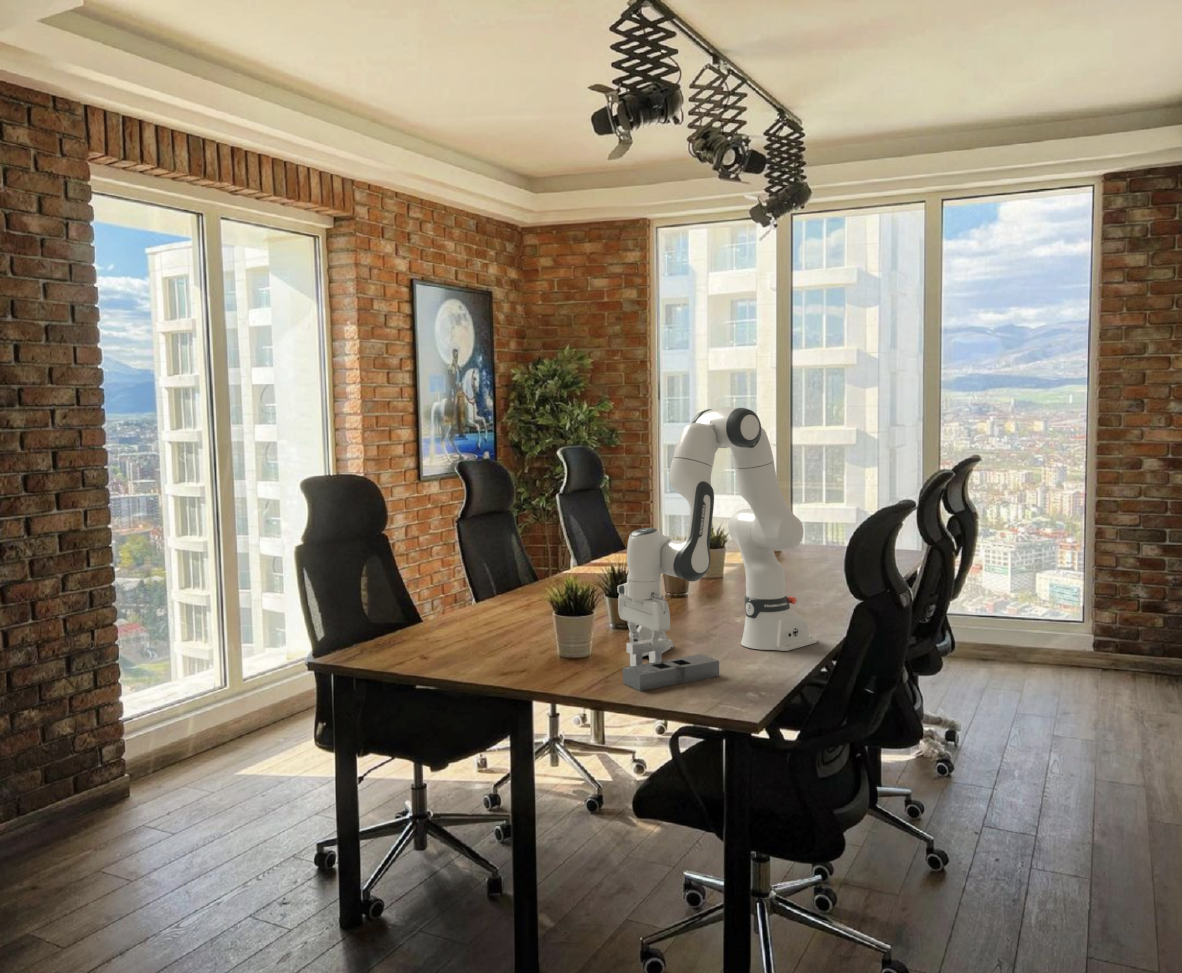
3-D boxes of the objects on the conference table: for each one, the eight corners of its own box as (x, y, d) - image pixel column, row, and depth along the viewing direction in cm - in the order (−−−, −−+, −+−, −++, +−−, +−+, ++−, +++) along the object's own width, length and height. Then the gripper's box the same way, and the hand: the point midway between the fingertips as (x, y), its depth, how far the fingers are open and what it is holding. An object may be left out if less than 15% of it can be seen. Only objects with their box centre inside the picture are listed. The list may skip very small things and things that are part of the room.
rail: (700, 669, 257) (700, 654, 257) (719, 676, 250) (719, 660, 250) (623, 683, 246) (622, 667, 245) (640, 691, 239) (639, 675, 238)
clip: (658, 665, 262) (658, 637, 262) (664, 667, 260) (664, 639, 259) (626, 670, 257) (626, 642, 257) (633, 673, 255) (632, 645, 254)
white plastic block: (651, 659, 268) (639, 625, 269) (636, 664, 270) (624, 629, 271) (674, 646, 283) (663, 613, 284) (660, 650, 285) (649, 617, 286)
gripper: (676, 595, 249) (676, 648, 250) (633, 583, 267) (634, 633, 268) (655, 597, 246) (655, 651, 247) (613, 585, 264) (614, 636, 265)
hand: (644, 642), depth 258 cm, fingers open, 8 cm apart
